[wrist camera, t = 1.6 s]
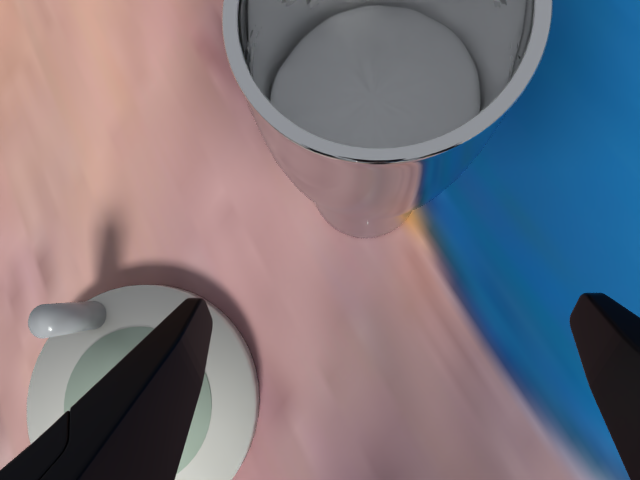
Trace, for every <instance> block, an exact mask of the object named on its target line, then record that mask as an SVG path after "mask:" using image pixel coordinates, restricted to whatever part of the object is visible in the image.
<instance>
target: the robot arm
mask: <svg viewBox="0 0 640 480" xmlns="http://www.w3.org/2000/svg"><path fill="white" fill-rule="evenodd" d="M570 326H571V330H572V333H573V336H574V339H575V343H576V346H577V349H578V352H579V355H580V358H581V362H582V365H583V368H584V371H585V374H586V378H587V380H588V383H589V386H590V389H591V391H592V393H593V396H594V398H595V400H596V403H597V405H598V407H599V409H600V412H601V414H602V416H603V419H604V421H605V423H606V425H607V428H608V430H609V432H610V434H611V437H612V439H613V441H614V443H615V446H616V448H617V450H618V452H619V455H620V457H621V459H622V461H623V464H624V466H625V468H626V470H627V473H628V475H629V477H630V480H640V318H639V317H638V316H637V315H635V314H634V313H632V312H631V311H629V310H628V309H626V308H625V307H623V306H622V305H620V304H619V303H617V302H616V301H614V300H613V299H611V298H610V297H608V296H607V295H605V294H603V293H584V294H582V295H581V296H580V297H579V299H578V301H577V303H576V305H575V307H574V309H573V311H572V313H571V316H570ZM212 328H213V320H212V316H211V314H210V311H209V309H208V306H207V303H206V301H205V300H204V299H203V298H187V299H185V300H184V301H183V302H182V303H181V304H180V305H179V306H178V307H177V308H176V309H175V310H174V311H172V312H171V313H170V314H169V315H168V316H167V317H166V318H165V319H164V320H163V321H162V322H161V323H160V324H159V325H158V326H157V327H155V328H154V329H153V330H152V331H151V332H150V333H149V334H148V335H147V336H146V337H145V338H144V339H143V340H142V341H141V342H140V343H139V344H137V345H136V346H135V347H134V348H133V349H132V350H131V351H130V352H129V353H128V354H127V355H126V356H125V357H124V358H123V359H122V360H121V361H119V362H118V363H117V364H116V365H115V366H114V367H113V368H112V369H111V370H110V371H109V372H108V373H107V374H106V375H105V376H104V377H103V378H101V379H100V380H99V381H98V382H97V383H96V384H95V385H94V386H93V387H92V388H91V389H90V390H89V391H88V392H87V393H86V394H84V395H83V396H82V397H81V398H80V399H79V400H78V401H77V402H76V403H75V404H74V405H73V406H72V407H71V408H70V411H66V412H65V413H64V414H63V415H62V416H61V417H60V418H59V419H58V420H57V421H56V422H55V423H54V424H53V425H51V426H50V427H49V428H48V429H47V430H46V431H45V432H44V433H43V434H42V435H40V436H39V437H38V438H37V439H36V440H35V441H34V442H33V443H32V444H31V445H29V446H28V447H27V448H26V449H25V450H24V451H22V452H21V453H20V454H19V455H18V456H17V457H15V458H14V459H13V460H12V461H11V462H10V463H8V464H7V465H6V466H5V467H4V468H3V469H1V470H0V480H175V477H176V474H177V470H178V467H179V464H180V460H181V457H182V453H183V450H184V446H185V443H186V440H187V436H188V433H189V429H190V426H191V422H192V419H193V416H194V412H195V409H196V405H197V402H198V398H199V395H200V392H201V388H202V384H203V379H204V374H205V368H206V363H207V357H208V351H209V345H210V340H211V334H212Z"/></svg>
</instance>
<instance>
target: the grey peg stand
mask: <svg viewBox="0 0 640 480" xmlns="http://www.w3.org/2000/svg"><path fill="white" fill-rule="evenodd" d="M187 298H202V297H200V296H198V295H196V294H194V293H192V292H189V291H186V290H183V289H180V288H176V287H171V286H165V285H135V286H126V287H121V288H117V289H113V290H110V291H107V292H104V293H102V294H99V295H97V296H95V297H93V298H92V299H90V300H88V301H84V302H70V303H56V304H43V305H39V306H37V307H36V308H34V309H33V311H32V312H31V314H30V316H29V319H28V326H29V329H30V331H31V333H32V334H33V335H34V336H36V337H38V338H49V339H48V340H47V342H46V343H45V345H44V347H43V349H42V351H41V353H40V355H39V357H38V359H37V362H36V364H35V367H34V370H33V372H32V376H31V381H30V385H29V390H28V398H27V426H28V435H29V439H30V443H31V444H32V443H33V442H34V441H35V440H36V439H37V438H38V437H39V436H40V435H42V434H43V433H44V432H45V431H46V430H47V429H48V428H49V427H50V426H51V425H53V424H54V423H55V422H56V421H57V420H58V419H59V418H60V417H61V416H62V415H63V414H64V413H65V412H66V411H70V408H71V407H72V406H73V405H74V404H75V403H76V402H77V401H78V400H79V399H80V398H81V397H82V396H83V395H84V394H86V393H87V392H88V391H89V390H90V389H91V388H92V387H93V386H94V385H95V384H96V383H97V382H98V381H99V380H100V379H101V378H103V377H104V376H105V375H106V374H107V373H108V372H109V371H110V370H111V369H112V368H113V367H114V366H115V365H116V364H117V363H118V362H119V361H121V360H122V359H123V358H124V357H125V356H126V355H127V354H128V353H129V352H130V351H131V350H132V349H133V348H134V347H135V346H136V345H137V344H139V343H140V342H141V341H142V340H143V339H144V338H145V337H146V336H147V335H148V334H149V333H150V332H151V331H152V330H153V329H154V328H155V327H157V326H158V325H159V324H160V323H161V322H162V321H163V320H164V319H165V318H166V317H167V316H168V315H169V314H170V313H171V312H172V311H174V310H175V309H176V308H177V307H178V306H179V305H180V304H181V303H182V302H183V301H184V300H185V299H187ZM203 299H204V298H203ZM204 300H205V301H206V303H207V306H208V309H209V311H210V314H211V316H212V320H213V328H212V334H211V340H210V345H209V351H208V357H207V363H206V368H205V374H204V379H203V384H202V388H201V392H200V395H199V398H198V402H197V405H196V409H195V412H194V416H193V419H192V422H191V426H190V429H189V433H188V436H187V440H186V443H185V446H184V450H183V453H182V457H181V460H180V464H179V467H178V470H177V474H176V477H175V480H232V479H233V477H234V476H235V474H236V472H237V471H238V469H239V468H240V466H241V465H242V463H243V461H244V460H245V457H246V455H247V453H248V451H249V449H250V447H251V444H252V441H253V438H254V434H255V431H256V426H257V421H258V416H259V400H260V399H259V384H258V378H257V373H256V368H255V365H254V362H253V359H252V356H251V353H250V351H249V349H248V347H247V344H246V342H245V340H244V339H243V337H242V336H241V334H240V332H239V331H238V329H237V328H236V327H235V325H234V324H233V323H232V322H231V321H230V319H229V318H228V317H227V316H226V315H225V314H224V313H223V312H222V311H220V310H219V309H218V308H217V307H216V306H214V305H213V304H212V303H210V302H209V301H207V300H206V299H204Z"/></svg>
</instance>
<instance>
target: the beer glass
mask: <svg viewBox="0 0 640 480" xmlns="http://www.w3.org/2000/svg"><path fill="white" fill-rule="evenodd" d="M552 12H553V0H223V7H222V33H223V41H224V46H225V51H226V55H227V59H228V62H229V65H230V68H231V71H232V73H233V76H234V78H235V80H236V82H237V84H238V86H239V88H240V90H241V91H242V93H243V95H244V96H245V98H246V101H247V103H248V106H249V108H250V111H251V113H252V116H253V118H254V120H255V122H256V125H257V127H258V129H259V132H260V134H261V136H262V138H263V140H264V142H265V143H266V145H267V147H268V149H269V151H270V152H271V154H272V156H273V158H274V159H275V161H276V163H277V164H278V166H279V167H280V168H281V170H282V171H283V172H284V173H285V175H286V176H287V177H288V178H289V180H290V181H291V182H292V183H293V184H294V185H295V187H296V188H297V189H298V190H299V191H300V192H301V193H303V194H304V195H305V196H306V197H307V198H309V199H310V200H311V201H313V202H314V203H315V204H316V206H317V209H318V211H319V212H320V214H321V216H322V217H323V218H324V220H325V221H326V222H327V223H328V224H329V225H330V226H332V227H333V228H334V229H336V230H337V231H339V232H341V233H343V234H345V235H348V236H351V237H356V238H375V237H379V236H383V235H385V234H388V233H390V232H392V231H393V230H395V229H397V228H398V227H399V226H401V225H402V224H403V223H404V222H405V221H406V220H407V218H408V217H409V216H410V214H411V212H412V211H413V210H415V209H417V208H419V207H421V206H423V205H425V204H427V203H428V202H430V201H431V200H433V199H434V198H436V197H437V196H438V195H439V194H441V193H442V192H443V191H444V190H445V189H446V188H448V187H449V186H450V185H451V184H452V183H453V182H455V181H456V180H457V179H458V178H459V177H460V176H461V175H462V174H463V172H464V171H465V170H466V169H467V168H468V167H469V165H470V164H471V163H472V162H473V161H474V159H475V158H476V157H477V156H478V154H479V153H480V152H481V151H482V149H483V148H484V147H485V145H486V144H487V142H488V141H489V139H490V138H491V136H492V135H493V134H494V132H495V131H496V129H497V128H498V126H499V125H500V123H501V121H502V120H503V118H504V117H505V115H506V113H507V112H508V110H509V109H510V108H511V107H512V106H513V105H514V103H515V102H516V101H517V100H518V99H519V97H520V96H521V95H522V93H523V92H524V91H525V89H526V88H527V86H528V85H529V83H530V81H531V80H532V78H533V76H534V74H535V72H536V70H537V68H538V66H539V64H540V62H541V59H542V57H543V54H544V51H545V48H546V45H547V42H548V38H549V34H550V29H551V22H552Z"/></svg>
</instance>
